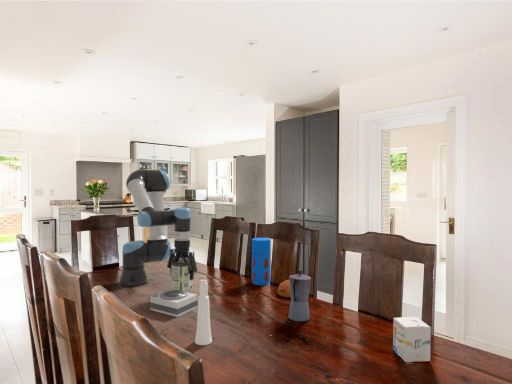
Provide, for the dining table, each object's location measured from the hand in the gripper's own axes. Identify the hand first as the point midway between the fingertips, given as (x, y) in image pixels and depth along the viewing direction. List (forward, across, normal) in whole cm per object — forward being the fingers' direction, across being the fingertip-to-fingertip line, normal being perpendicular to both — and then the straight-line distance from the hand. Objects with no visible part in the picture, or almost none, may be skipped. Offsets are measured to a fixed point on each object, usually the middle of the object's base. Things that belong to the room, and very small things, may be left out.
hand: (181, 284), depth 170 cm
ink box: (+4, +105, -6) cm, 105 cm away
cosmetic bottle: (+6, +40, -32) cm, 52 cm away
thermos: (+7, +21, +44) cm, 49 cm away
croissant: (+7, +44, +34) cm, 56 cm away
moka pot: (+6, +61, +5) cm, 61 cm away
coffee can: (+3, 0, 0) cm, 3 cm away
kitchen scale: (+6, +8, -13) cm, 17 cm away
